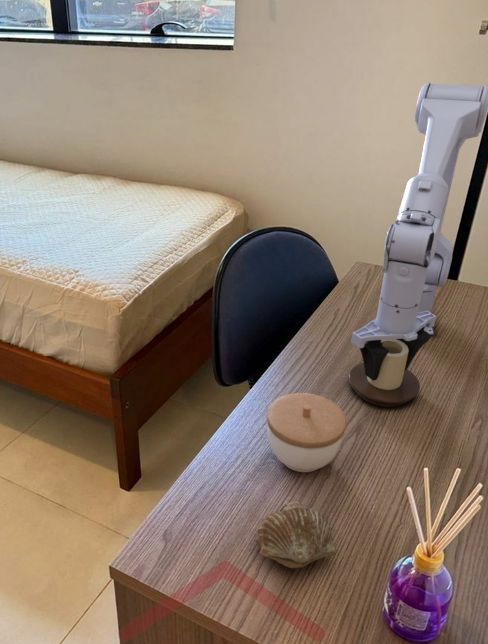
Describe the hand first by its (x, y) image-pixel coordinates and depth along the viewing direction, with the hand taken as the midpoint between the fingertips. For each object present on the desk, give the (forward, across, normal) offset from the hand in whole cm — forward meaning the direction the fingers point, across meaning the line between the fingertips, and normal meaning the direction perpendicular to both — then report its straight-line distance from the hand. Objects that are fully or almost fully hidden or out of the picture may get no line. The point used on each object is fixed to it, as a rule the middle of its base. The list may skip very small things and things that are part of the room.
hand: (385, 372), depth 97 cm
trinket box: (+4, -21, -8) cm, 22 cm away
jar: (+2, 0, 0) cm, 2 cm away
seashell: (+4, -31, -21) cm, 38 cm away
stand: (+4, 0, 0) cm, 4 cm away
